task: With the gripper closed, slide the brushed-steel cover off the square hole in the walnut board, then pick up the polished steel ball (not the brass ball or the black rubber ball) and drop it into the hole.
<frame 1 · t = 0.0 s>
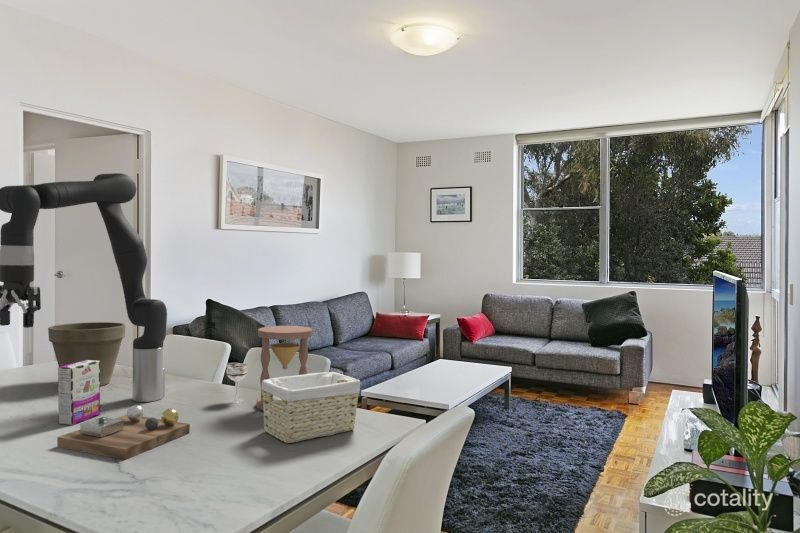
hand: (16, 326, 147), 29 cm above the table, tool pointing down, fingers open, 8 cm apart
walnut board: (126, 439, 149), on the table
hourglass: (283, 406, 185), on the table
wineglass: (236, 401, 189), on the table
candy bar box: (79, 420, 165), on the table
plant pot: (87, 384, 208), on the table
steel cover: (102, 424, 146), point 4 cm above the table, slide at 0.0 cm
black rubber ball: (151, 429, 150), point 2 cm above the table, touching walnut board
storage basket: (310, 432, 159), on the table
brass ball: (170, 425, 154), point 2 cm above the table, touching walnut board
steel ball: (135, 421, 157), point 2 cm above the table, touching walnut board
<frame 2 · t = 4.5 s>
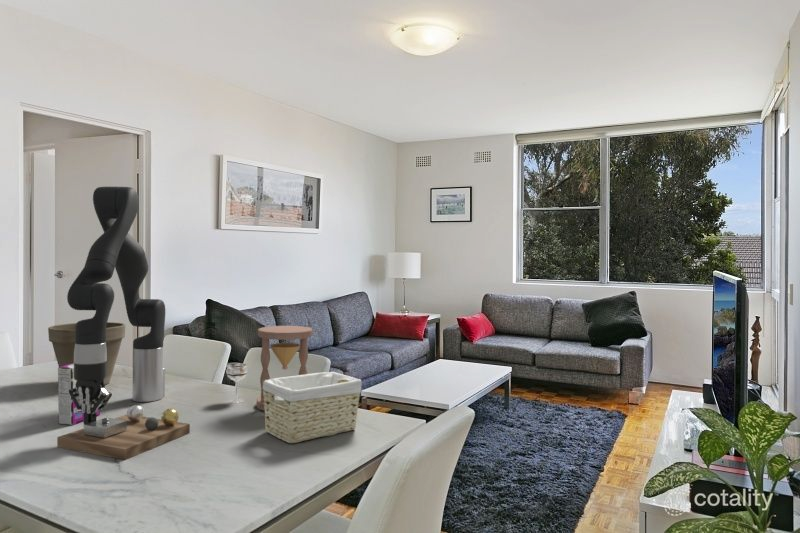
hand: (89, 426, 148), 4 cm above the table, tool pointing down, fingers closed
steel cover: (105, 425, 146), point 5 cm above the table, slide at 1.2 cm, touching gripper
everything else where it was.
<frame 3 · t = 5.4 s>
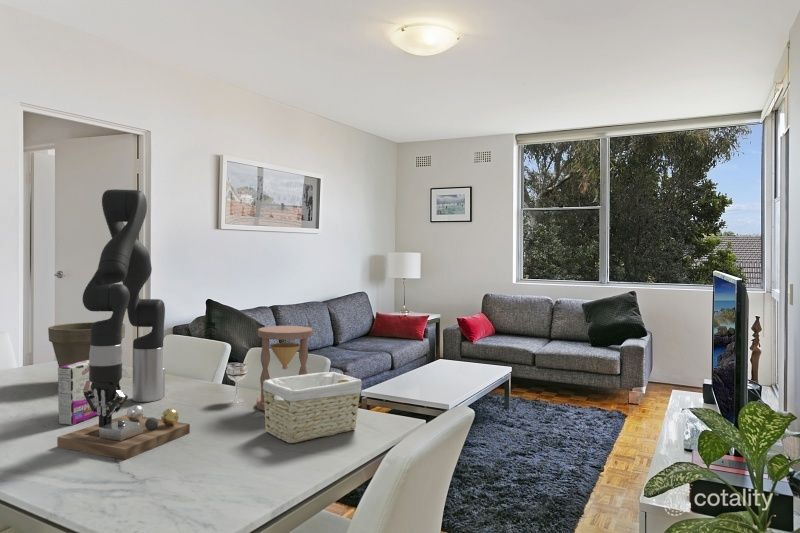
hand: (105, 429, 146), 4 cm above the table, tool pointing down, fingers closed
steel cover: (121, 428, 144), point 4 cm above the table, slide at 6.4 cm, touching gripper
everything else where it was.
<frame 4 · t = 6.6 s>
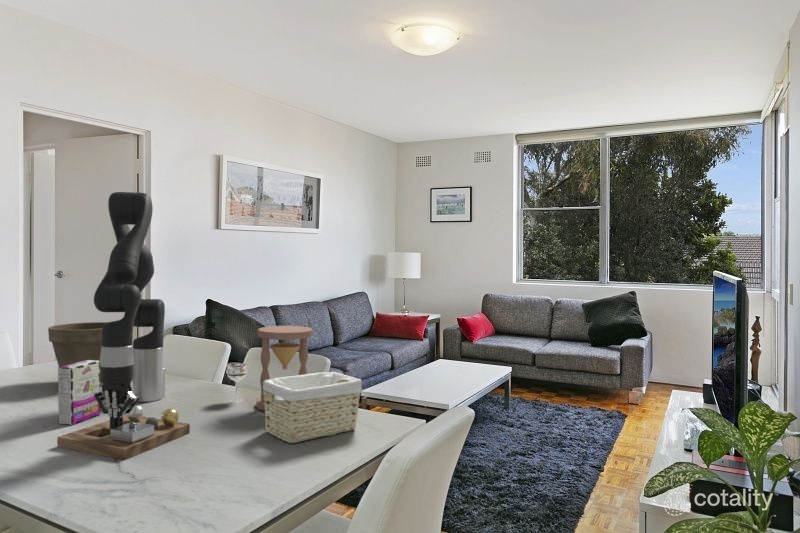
hand: (116, 431, 144), 4 cm above the table, tool pointing down, fingers closed
steel cover: (132, 429, 143), point 5 cm above the table, slide at 10.1 cm, touching gripper
everything else where it was.
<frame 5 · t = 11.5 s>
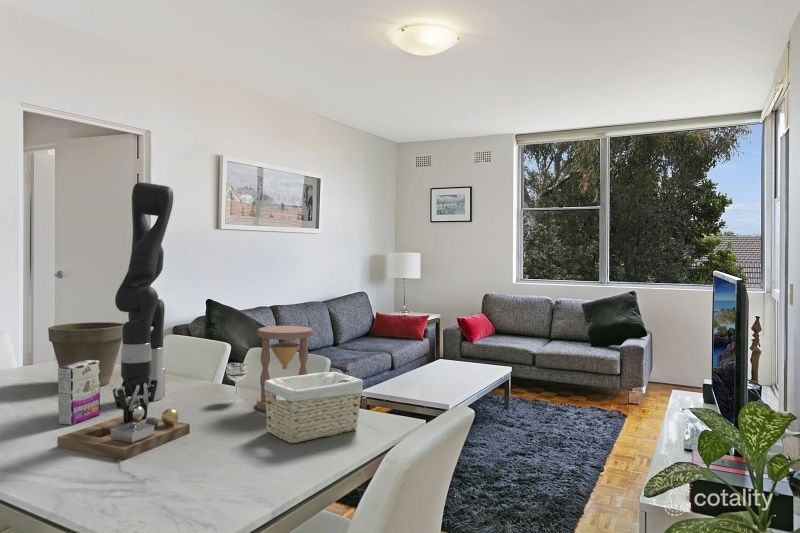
hand: (135, 420, 157), 3 cm above the table, tool pointing down, fingers closed on steel ball, 4 cm apart
steel cover: (132, 429, 143), point 4 cm above the table, slide at 10.1 cm
steel ball: (135, 421, 157), point 2 cm above the table, touching gripper, walnut board
everything else where it was.
when the fingers open (3 cm above the table, at t = 16.3 s): steel ball drops 3 cm, resting in walnut board.
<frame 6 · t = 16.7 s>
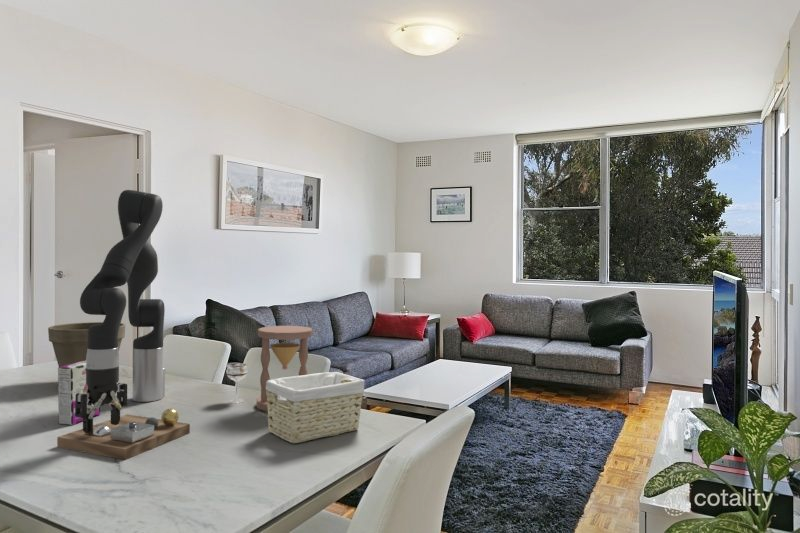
hand: (102, 428, 146), 4 cm above the table, tool pointing down, fingers open, 7 cm apart
steel ball: (102, 442, 146), resting in walnut board
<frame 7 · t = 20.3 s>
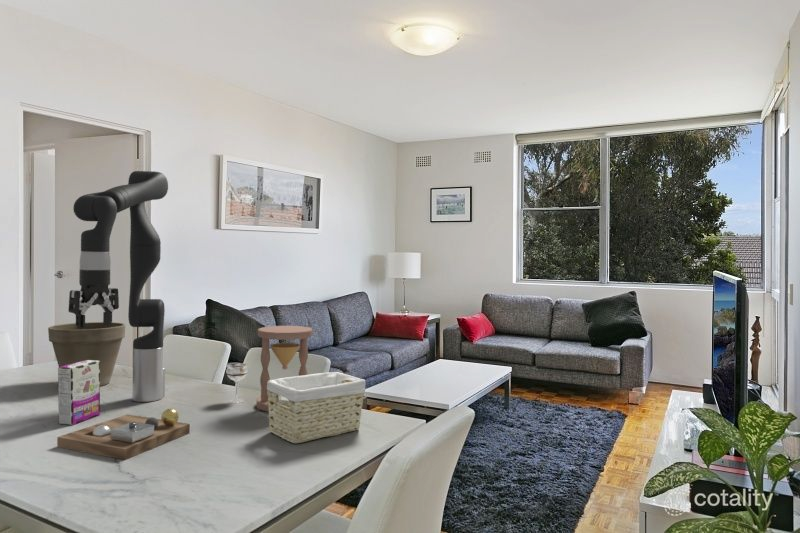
hand: (94, 326, 157), 28 cm above the table, tool pointing down, fingers open, 8 cm apart
at the end: steel ball 0.0 cm from the target spot on the walnut board, point 0.0 cm above the walnut board's base; steel cover slide at 10.1 cm; the gripper is holding nothing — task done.
